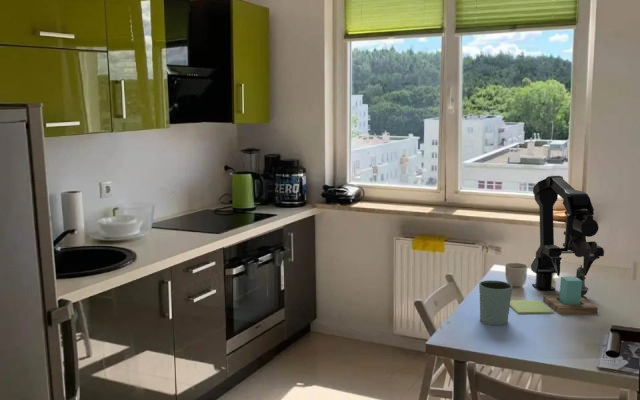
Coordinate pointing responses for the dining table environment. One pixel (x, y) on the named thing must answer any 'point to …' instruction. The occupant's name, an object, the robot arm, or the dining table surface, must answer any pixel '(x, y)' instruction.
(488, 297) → the green cup
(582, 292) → the dark grey upright piece
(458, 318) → the dining table surface
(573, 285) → the teal peg
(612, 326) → the dining table surface
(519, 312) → the olive mat
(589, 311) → the frame
